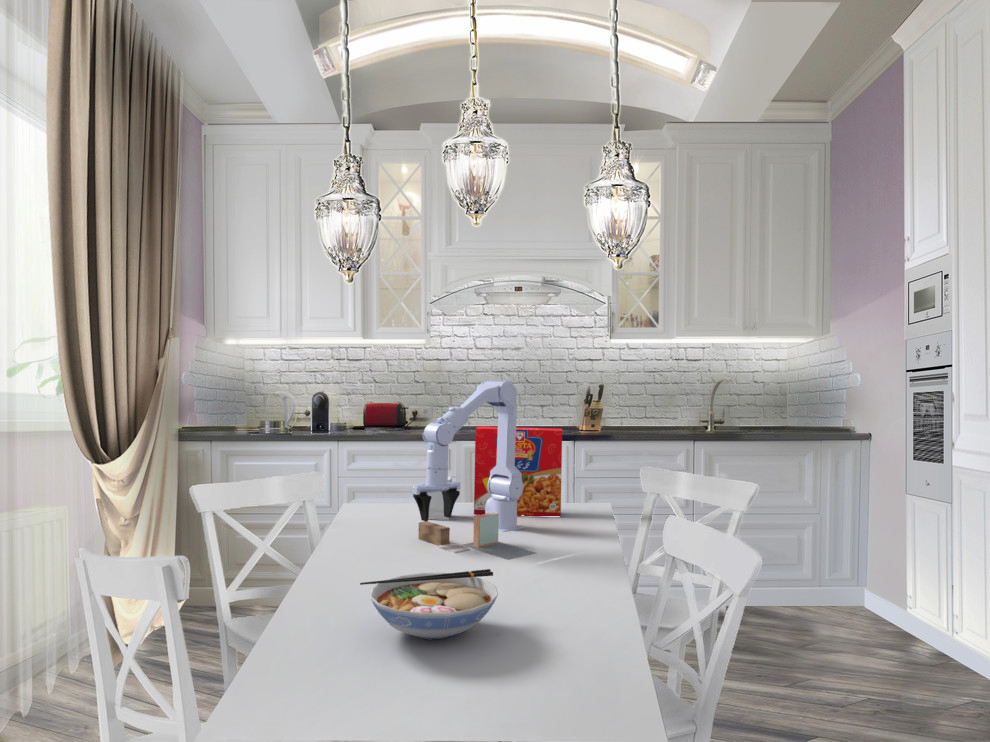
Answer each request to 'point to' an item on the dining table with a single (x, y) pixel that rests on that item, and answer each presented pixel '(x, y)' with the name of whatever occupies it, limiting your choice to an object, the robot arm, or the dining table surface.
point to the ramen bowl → (434, 602)
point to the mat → (502, 550)
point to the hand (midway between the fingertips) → (436, 518)
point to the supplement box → (437, 505)
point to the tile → (485, 529)
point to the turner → (438, 536)
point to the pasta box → (523, 469)
